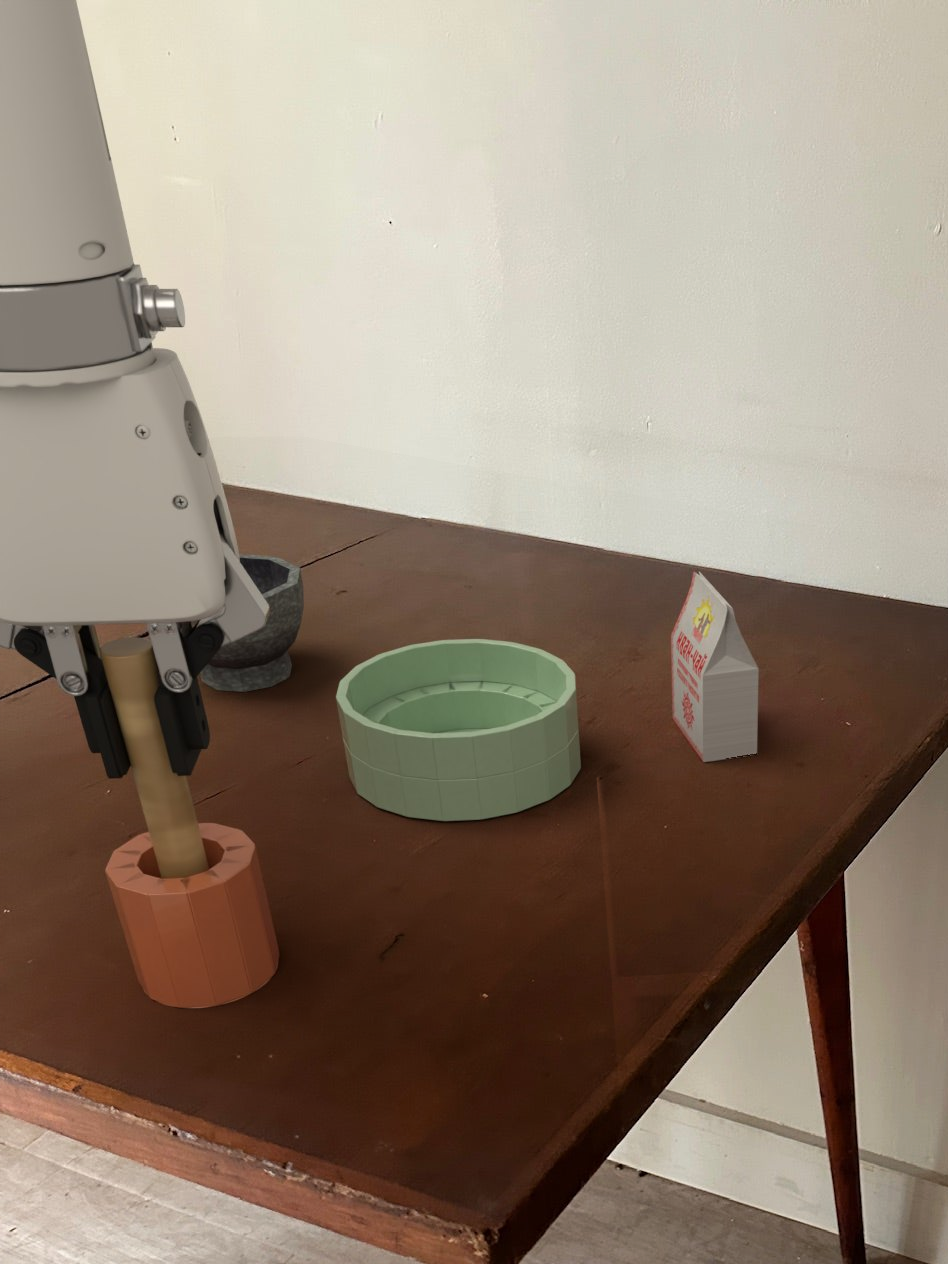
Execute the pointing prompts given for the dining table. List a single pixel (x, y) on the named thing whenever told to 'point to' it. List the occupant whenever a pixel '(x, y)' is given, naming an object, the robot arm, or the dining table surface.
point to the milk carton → (713, 677)
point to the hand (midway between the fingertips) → (155, 760)
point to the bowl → (460, 728)
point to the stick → (153, 758)
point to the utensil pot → (196, 921)
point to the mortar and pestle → (262, 631)
